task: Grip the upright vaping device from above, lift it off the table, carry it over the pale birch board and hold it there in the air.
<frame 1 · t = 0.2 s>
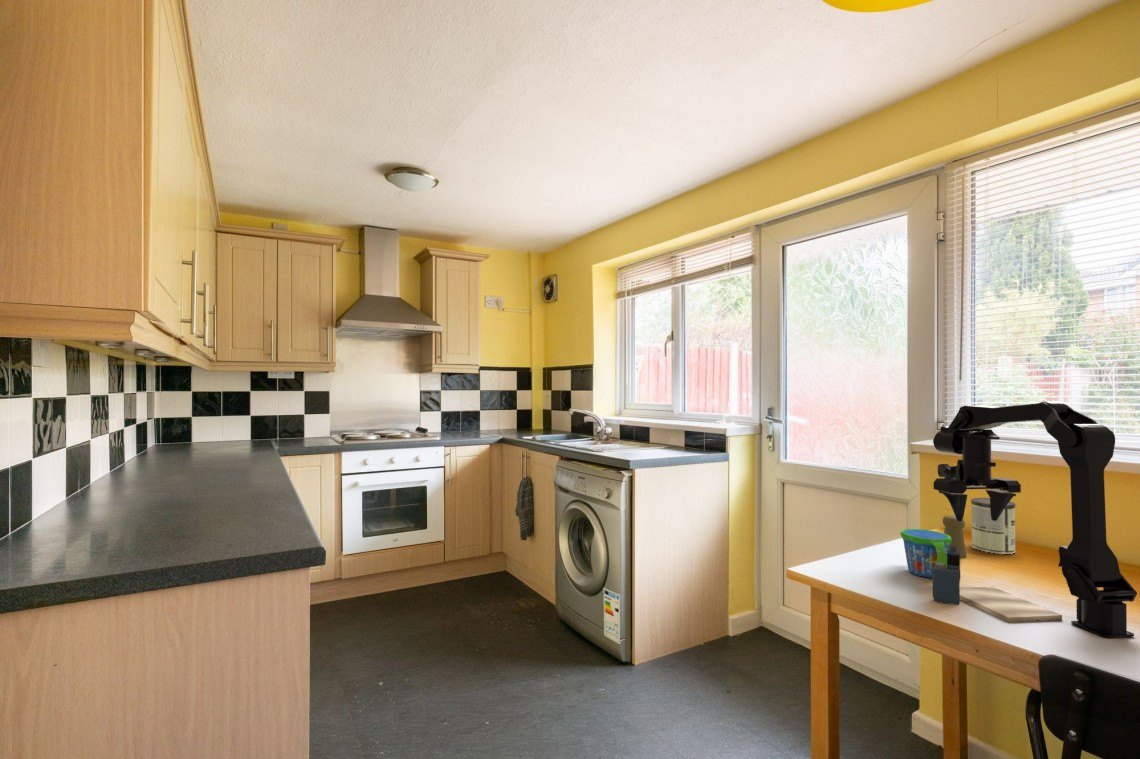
hand: (976, 520, 134), 14 cm above the table, tool pointing down, fingers open, 9 cm apart
vaping device: (946, 602, 120), on the table
blue plastic tapered tub: (925, 574, 138), on the table
coffee can: (992, 550, 160), on the table
cork: (953, 555, 154), on the table
birch board: (1000, 605, 118), on the table
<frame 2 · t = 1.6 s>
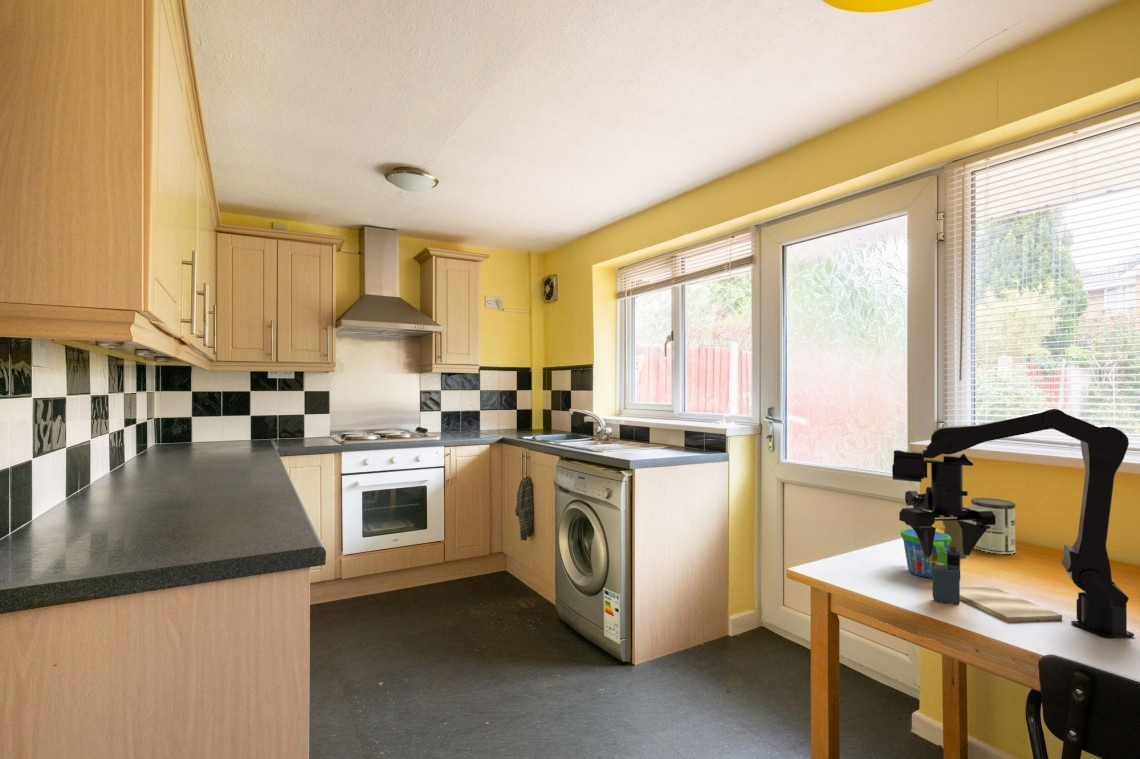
hand: (947, 555, 120), 10 cm above the table, tool pointing down, fingers open, 9 cm apart
nothing on the table moved.
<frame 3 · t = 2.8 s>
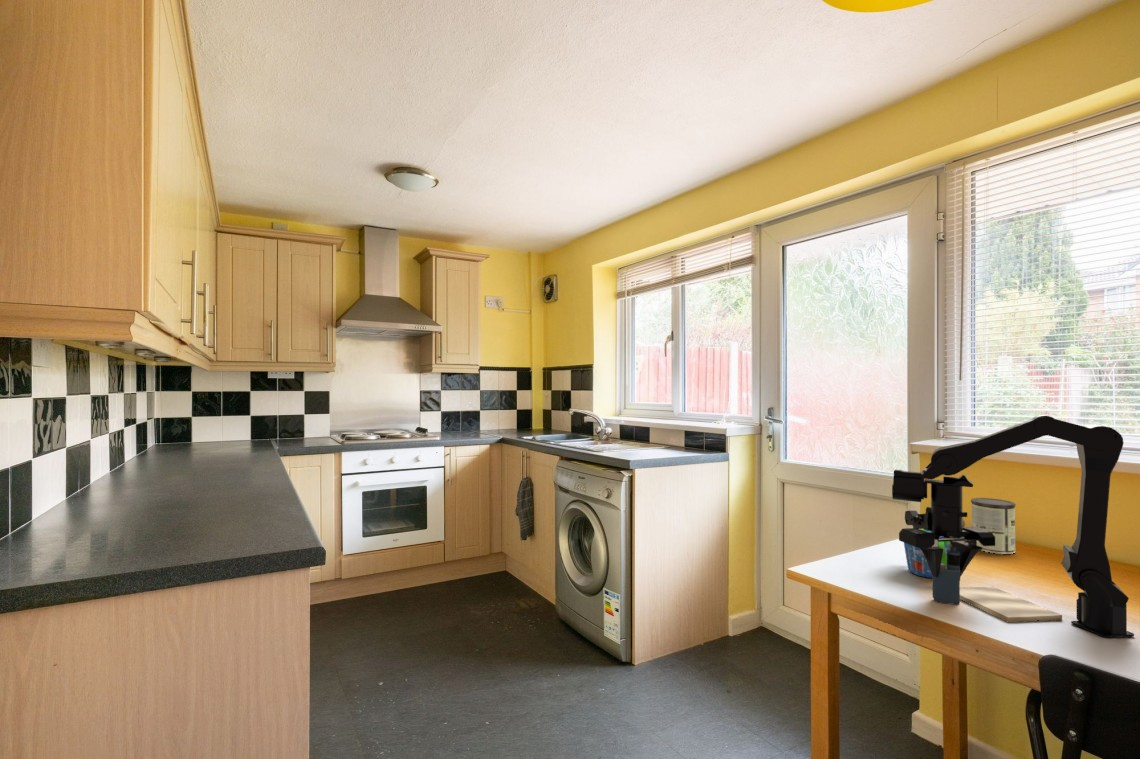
hand: (946, 576, 120), 6 cm above the table, tool pointing down, fingers closed on vaping device, 5 cm apart
vaping device: (946, 602, 120), on the table, touching gripper
everything else where it was.
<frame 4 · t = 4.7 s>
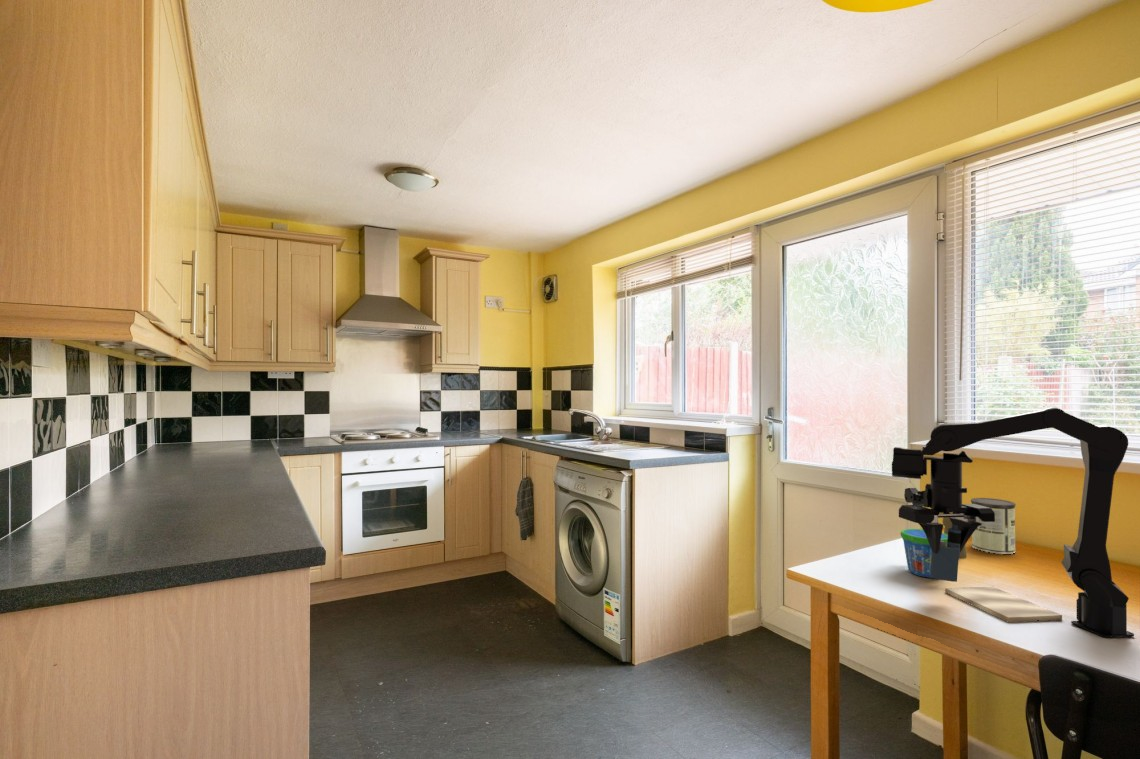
hand: (946, 552, 120), 11 cm above the table, tool pointing down, fingers closed on vaping device, 5 cm apart
vaping device: (943, 580, 120), point 5 cm above the table, touching gripper
everything else where it was.
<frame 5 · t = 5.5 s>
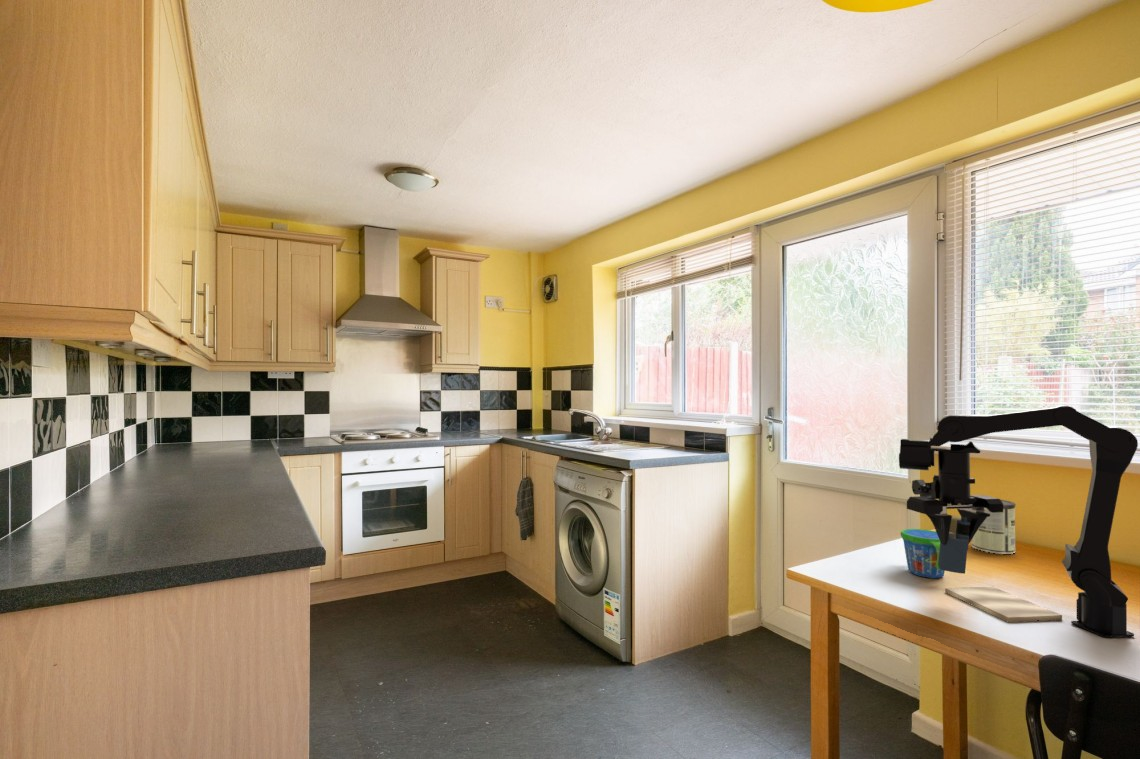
hand: (955, 543, 120), 13 cm above the table, tool pointing down, fingers closed on vaping device, 5 cm apart
vaping device: (951, 571, 120), point 7 cm above the table, touching gripper
everything else where it was.
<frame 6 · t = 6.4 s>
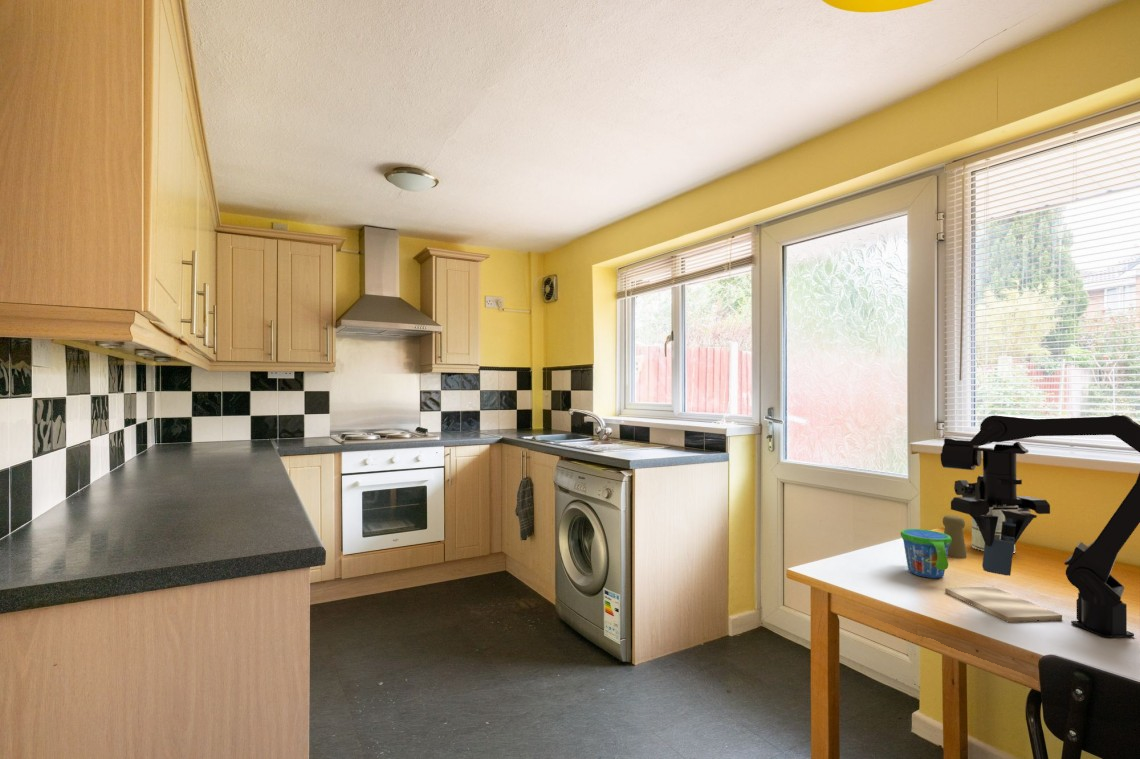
hand: (999, 545, 118), 13 cm above the table, tool pointing down, fingers closed on vaping device, 5 cm apart
vaping device: (996, 573, 118), point 7 cm above the table, touching gripper
everything else where it was.
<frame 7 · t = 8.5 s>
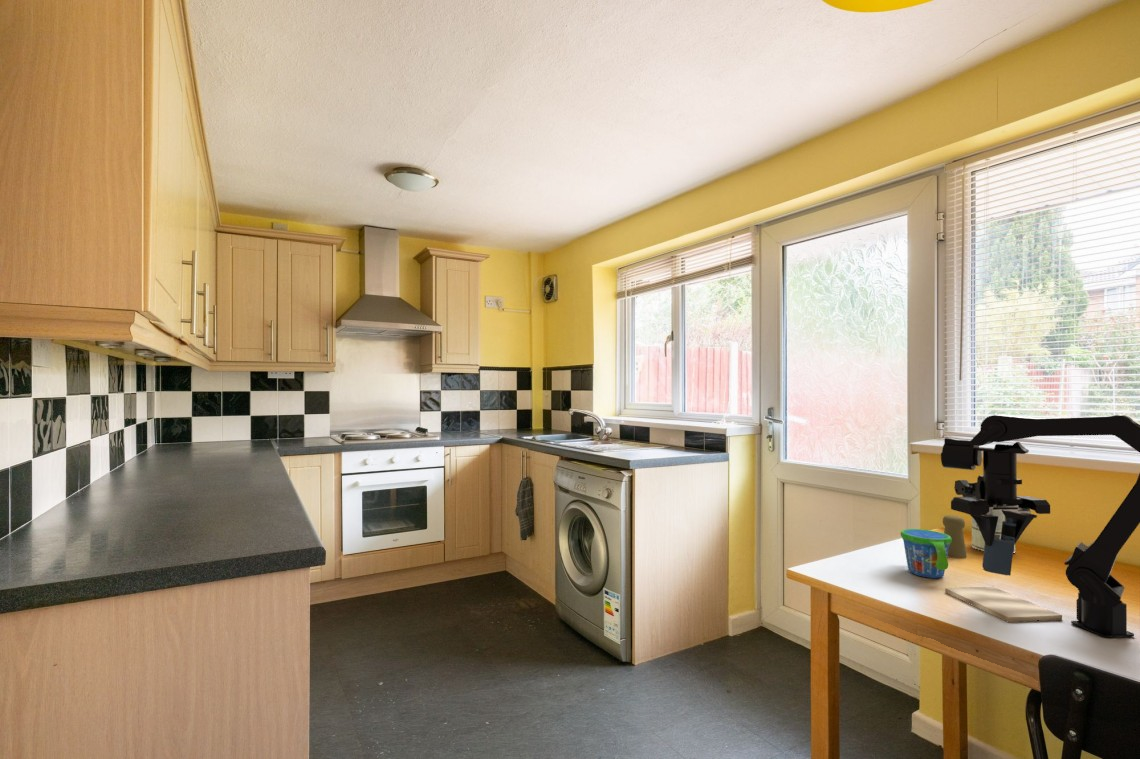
hand: (1000, 545, 118), 13 cm above the table, tool pointing down, fingers closed on vaping device, 5 cm apart
vaping device: (996, 573, 118), point 7 cm above the table, touching gripper
everything else where it was.
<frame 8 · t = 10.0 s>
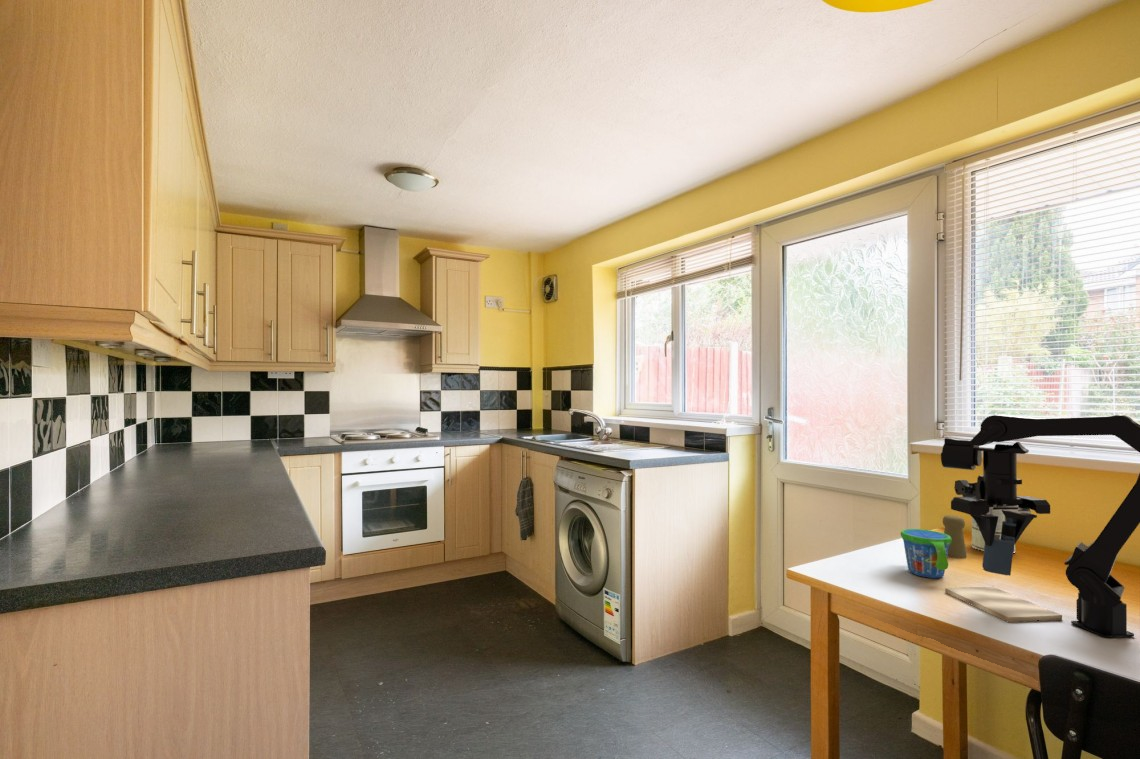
hand: (1000, 545, 118), 13 cm above the table, tool pointing down, fingers closed on vaping device, 5 cm apart
vaping device: (996, 573, 118), point 7 cm above the table, touching gripper
everything else where it was.
at the end: the gripper is holding vaping device; vaping device point 6.9 cm above the table; vaping device inside the target area on the birch board (1.0 cm from its centre), point 6.9 cm above the birch board's base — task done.
